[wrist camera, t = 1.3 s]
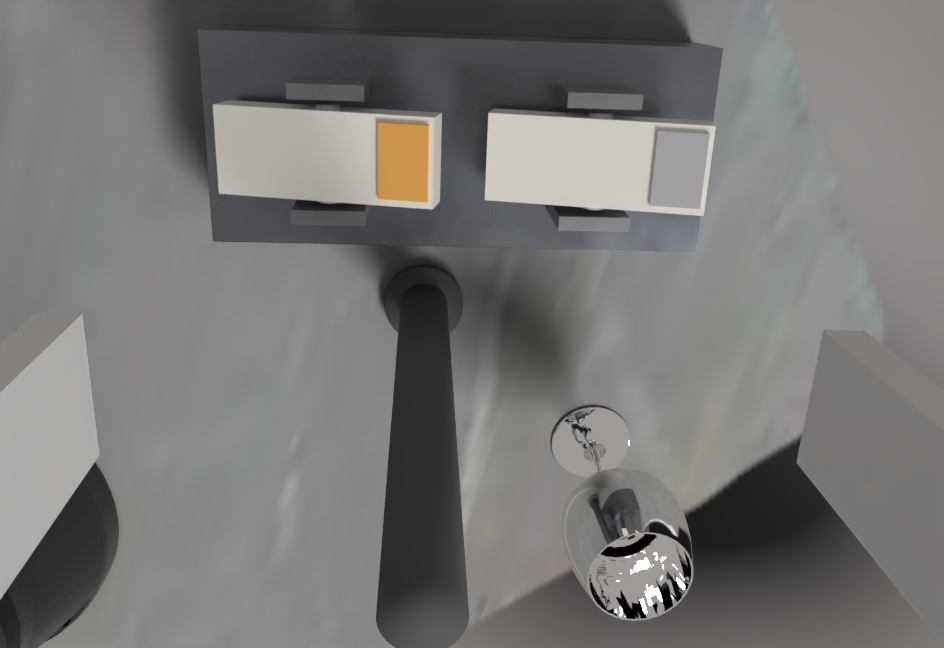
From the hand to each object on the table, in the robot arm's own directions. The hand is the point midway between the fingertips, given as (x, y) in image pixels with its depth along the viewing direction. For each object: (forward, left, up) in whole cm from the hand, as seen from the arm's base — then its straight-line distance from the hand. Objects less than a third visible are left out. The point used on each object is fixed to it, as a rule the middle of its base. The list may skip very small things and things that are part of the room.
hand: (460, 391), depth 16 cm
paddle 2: (+6, 0, -22) cm, 22 cm away
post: (-1, -8, -29) cm, 30 cm away
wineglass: (+9, -17, -29) cm, 34 cm away
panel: (+1, 0, -29) cm, 29 cm away
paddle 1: (-5, 0, -22) cm, 22 cm away
